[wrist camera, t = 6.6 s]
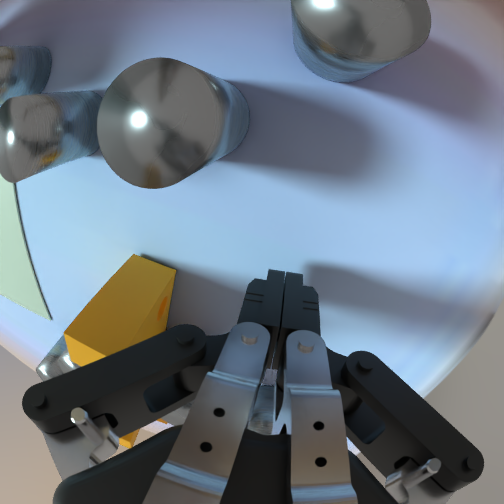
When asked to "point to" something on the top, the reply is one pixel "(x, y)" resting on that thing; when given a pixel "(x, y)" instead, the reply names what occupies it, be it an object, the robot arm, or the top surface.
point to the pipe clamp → (123, 315)
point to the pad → (16, 256)
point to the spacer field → (181, 115)
